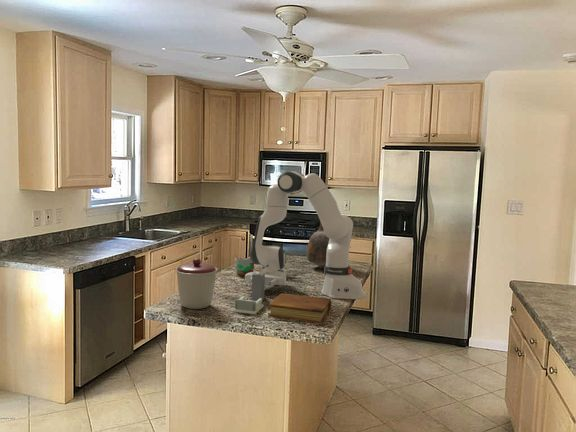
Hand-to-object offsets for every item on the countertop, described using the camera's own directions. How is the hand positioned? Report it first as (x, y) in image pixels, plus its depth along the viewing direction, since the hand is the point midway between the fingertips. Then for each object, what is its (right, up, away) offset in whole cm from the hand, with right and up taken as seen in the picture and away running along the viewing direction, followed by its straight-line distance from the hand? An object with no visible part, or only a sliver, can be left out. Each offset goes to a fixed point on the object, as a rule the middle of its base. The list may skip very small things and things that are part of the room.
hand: (260, 282), depth 224 cm
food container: (-13, -2, +41) cm, 43 cm away
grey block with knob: (-1, -7, -3) cm, 8 cm away
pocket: (-4, -9, -19) cm, 21 cm away
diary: (+18, -11, -21) cm, 30 cm away
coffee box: (+3, -2, +49) cm, 49 cm away
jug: (+35, -1, +68) cm, 76 cm away
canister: (-28, -8, -17) cm, 33 cm away
